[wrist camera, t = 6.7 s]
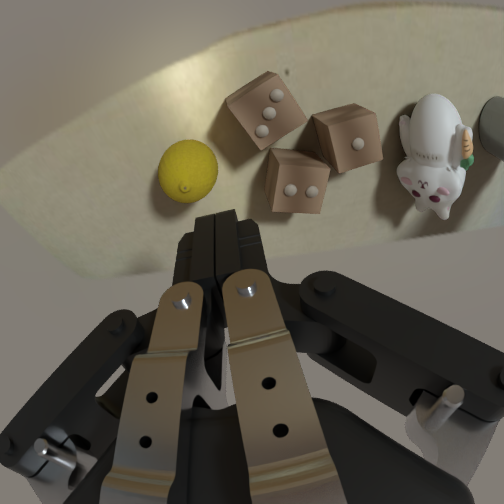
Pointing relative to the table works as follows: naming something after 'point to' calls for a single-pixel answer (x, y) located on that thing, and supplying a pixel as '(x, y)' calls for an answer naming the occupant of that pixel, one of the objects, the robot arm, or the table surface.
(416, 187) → the cat figurine
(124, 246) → the table surface
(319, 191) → the block two dots
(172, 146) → the lemon
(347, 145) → the block one dot
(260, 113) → the block three dots
